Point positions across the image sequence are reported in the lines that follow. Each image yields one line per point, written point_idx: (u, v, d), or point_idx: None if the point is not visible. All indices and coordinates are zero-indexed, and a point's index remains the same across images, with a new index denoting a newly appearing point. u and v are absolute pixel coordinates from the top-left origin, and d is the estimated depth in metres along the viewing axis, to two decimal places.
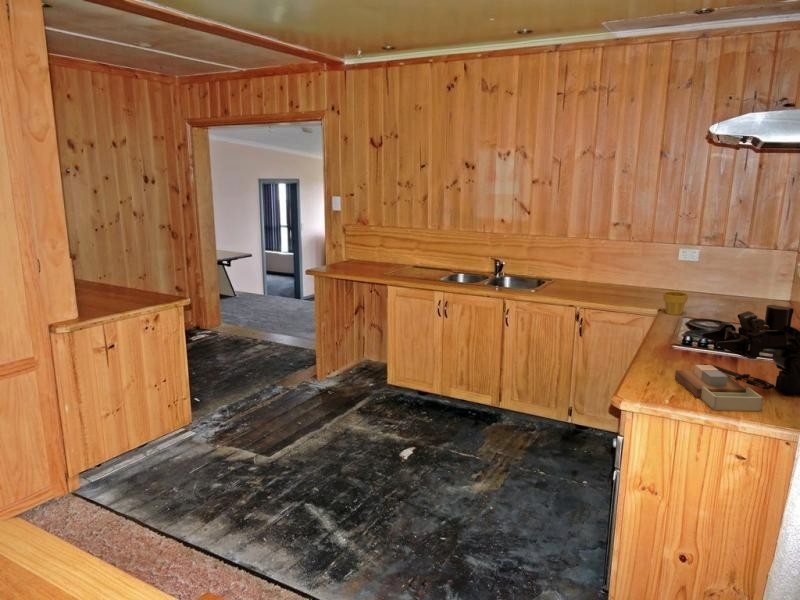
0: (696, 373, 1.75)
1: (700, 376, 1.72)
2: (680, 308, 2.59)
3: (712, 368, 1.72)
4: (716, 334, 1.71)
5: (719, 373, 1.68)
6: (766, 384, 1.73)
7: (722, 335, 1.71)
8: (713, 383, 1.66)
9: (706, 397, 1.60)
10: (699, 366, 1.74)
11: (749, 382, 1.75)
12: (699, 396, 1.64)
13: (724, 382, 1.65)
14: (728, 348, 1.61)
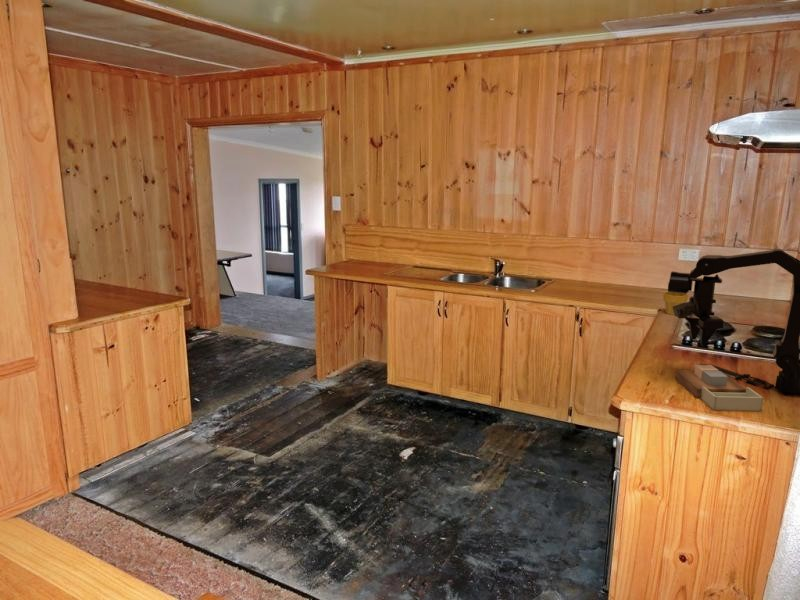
0: (696, 373, 1.75)
1: (700, 376, 1.72)
2: None
3: (712, 368, 1.72)
4: (694, 325, 1.81)
5: (719, 373, 1.68)
6: (766, 384, 1.72)
7: (695, 320, 1.81)
8: (713, 383, 1.66)
9: (706, 397, 1.60)
10: (699, 366, 1.74)
11: (749, 382, 1.75)
12: (699, 396, 1.64)
13: (724, 382, 1.65)
14: (708, 337, 1.74)
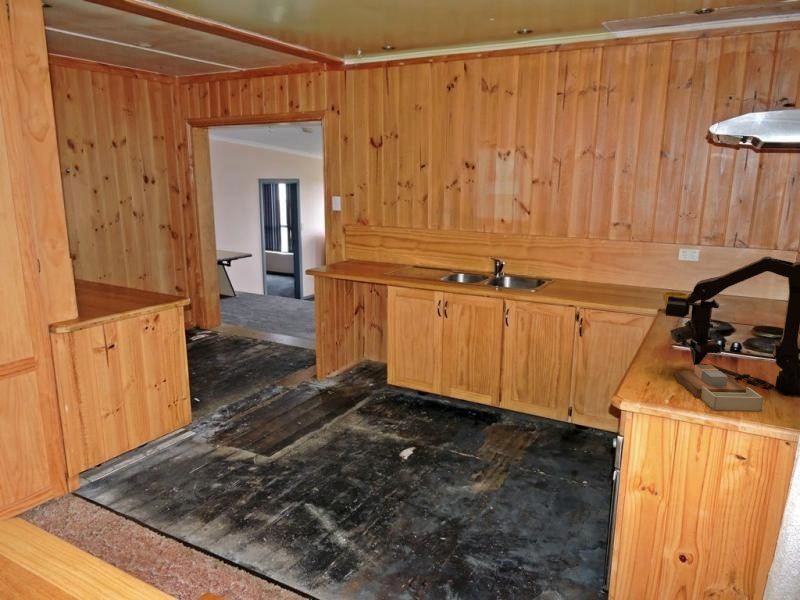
0: (696, 373, 1.75)
1: (700, 376, 1.72)
2: None
3: (712, 368, 1.72)
4: None
5: (719, 373, 1.68)
6: (766, 384, 1.72)
7: None
8: (713, 383, 1.66)
9: (706, 397, 1.60)
10: (699, 366, 1.74)
11: (749, 382, 1.75)
12: (699, 396, 1.64)
13: (724, 382, 1.65)
14: (701, 358, 1.79)
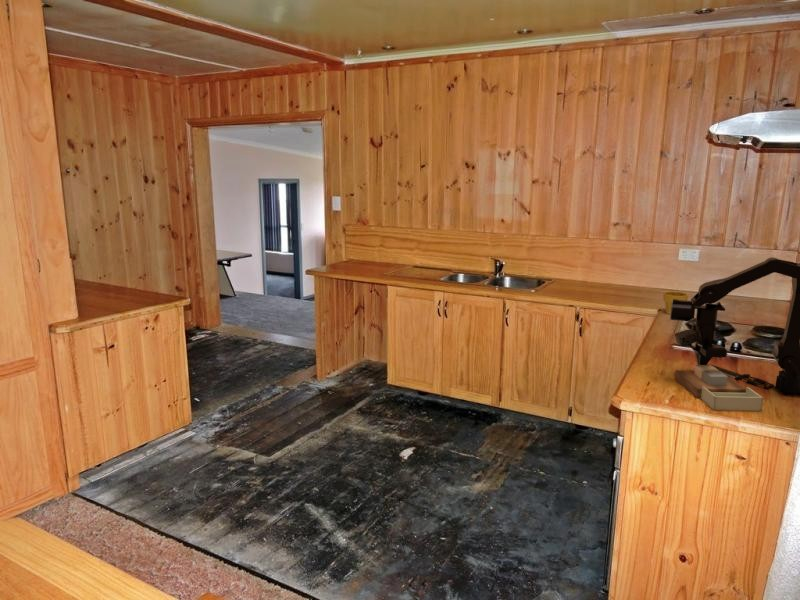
0: (696, 373, 1.75)
1: (700, 376, 1.72)
2: None
3: (712, 368, 1.72)
4: None
5: (719, 373, 1.68)
6: (766, 384, 1.72)
7: None
8: (713, 383, 1.66)
9: (706, 397, 1.60)
10: (699, 366, 1.74)
11: (749, 382, 1.75)
12: (699, 396, 1.64)
13: (724, 382, 1.65)
14: (706, 362, 1.75)
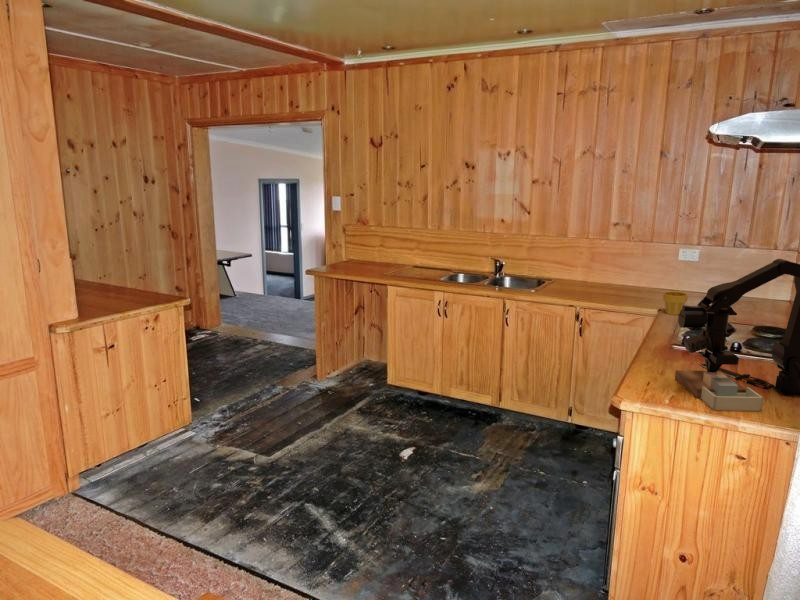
0: (705, 381, 1.68)
1: (709, 384, 1.65)
2: (680, 308, 2.59)
3: (722, 375, 1.66)
4: None
5: (729, 381, 1.61)
6: (766, 384, 1.72)
7: None
8: (722, 392, 1.60)
9: (706, 397, 1.60)
10: (708, 373, 1.68)
11: (749, 382, 1.75)
12: (699, 396, 1.64)
13: (734, 391, 1.59)
14: (716, 369, 1.69)
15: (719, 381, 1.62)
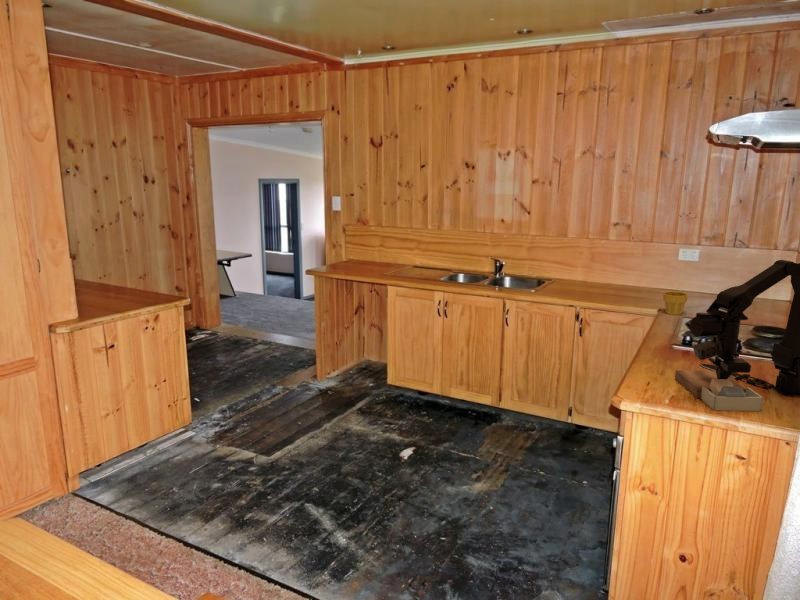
0: (711, 388, 1.63)
1: (715, 395, 1.61)
2: (680, 308, 2.59)
3: None
4: None
5: None
6: (766, 384, 1.72)
7: None
8: None
9: (706, 397, 1.60)
10: (716, 382, 1.61)
11: (749, 382, 1.75)
12: (699, 396, 1.64)
13: None
14: (727, 376, 1.62)
15: None
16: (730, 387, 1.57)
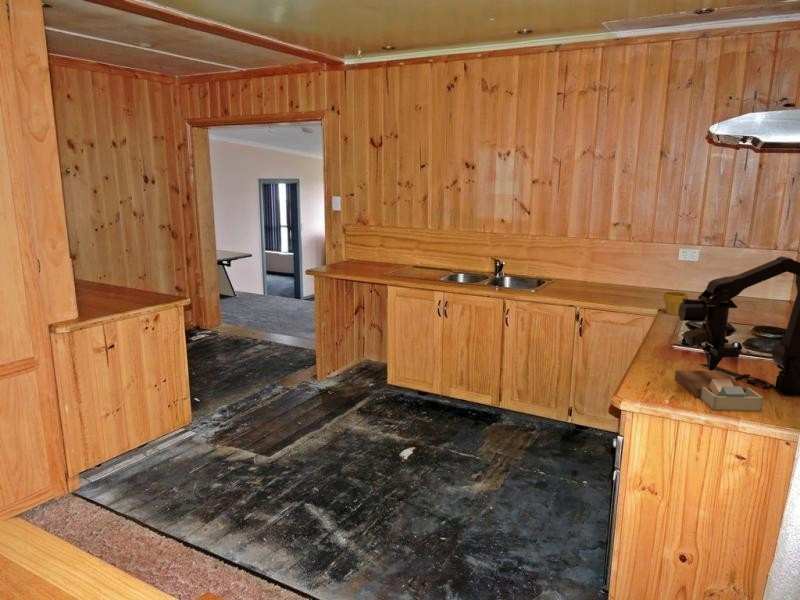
0: (711, 388, 1.63)
1: (715, 395, 1.61)
2: None
3: None
4: None
5: None
6: (766, 384, 1.72)
7: None
8: None
9: (706, 397, 1.60)
10: (716, 382, 1.61)
11: (749, 382, 1.75)
12: (699, 396, 1.64)
13: None
14: (717, 362, 1.68)
15: None
16: (730, 387, 1.57)
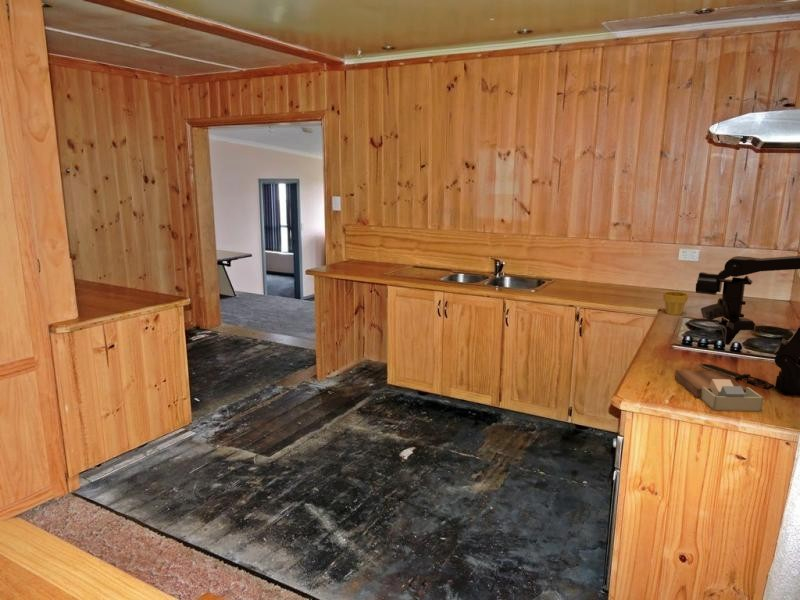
0: (711, 388, 1.63)
1: (715, 395, 1.61)
2: (680, 308, 2.59)
3: None
4: None
5: None
6: (766, 384, 1.72)
7: None
8: None
9: (706, 397, 1.60)
10: (716, 382, 1.61)
11: (749, 382, 1.75)
12: (699, 396, 1.64)
13: None
14: (733, 336, 1.74)
15: None
16: (730, 387, 1.57)
